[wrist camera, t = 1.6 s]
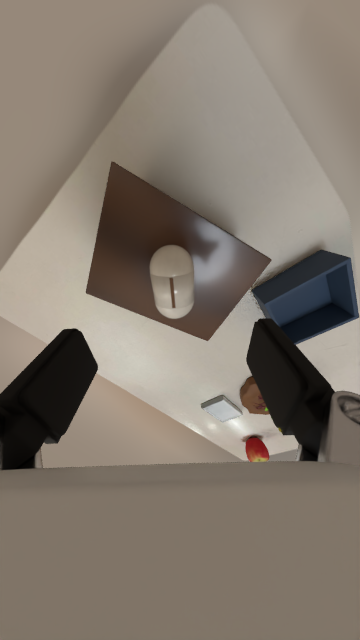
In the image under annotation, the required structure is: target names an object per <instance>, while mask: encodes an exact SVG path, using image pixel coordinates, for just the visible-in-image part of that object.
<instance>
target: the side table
mask: <svg viewBox="0 0 360 640" xmlns="http://www.w3.org/2000/svg"><path fill="white" fill-rule="evenodd" d="M165 245H178V246H180V247H182V248H184V249H185V250H186V251H187V252H188V253H189V254H190V256H191V257H192V259H193V263H194V298H195V299H194V305H193V307H192V309H191V311H190V312H189V313H188V314H187V315H186V316H184V317H182V318H178V319H171V318H167V317H165V316H164V315H162V314H161V313H160V312H159V311H158V309H157V308H156V305H155V301H154V295H153V289H152V283H151V277H150V270H149V266H150V261H151V258H152V256H153V254H154V253H155V252H156V251H157V250H158V249H159V248H161V247H163V246H165ZM270 262H271V259H270V258H268V257H267V256H265V255H264V254H262V253H260V252H259V251H257V250H255V249H254V248H252V247H251V246H249V245H247V244H246V243H244V242H243V241H241V240H239V239H238V238H236V237H234V236H233V235H231V234H230V233H228V232H226V231H225V230H223V229H221V228H220V227H218V226H217V225H215V224H213V223H212V222H210V221H208V220H207V219H205V218H204V217H202V216H200V215H199V214H197V213H196V212H194V211H192V210H191V209H189V208H187V207H186V206H184V205H183V204H181V203H179V202H178V201H176V200H174V199H173V198H171V197H170V196H168V195H166V194H165V193H163V192H161V191H160V190H158V189H157V188H155V187H153V186H152V185H150V184H149V183H147V182H145V181H144V180H142V179H140V178H139V177H137V176H136V175H134V174H132V173H131V172H129V171H127V170H126V169H124V168H123V167H121V166H119V165H118V164H116V163H114V162H111V167H110V172H109V177H108V182H107V187H106V192H105V197H104V202H103V207H102V213H101V218H100V223H99V228H98V233H97V238H96V243H95V248H94V253H93V258H92V263H91V268H90V273H89V279H88V284H87V289H86V293H87V294H89V295H92V296H94V297H97V298H99V299H102V300H105V301H107V302H110V303H112V304H115V305H117V306H120V307H122V308H125V309H127V310H130V311H133V312H135V313H138V314H140V315H143V316H145V317H148V318H150V319H153V320H155V321H158V322H160V323H163V324H166V325H168V326H171V327H173V328H176V329H178V330H181V331H183V332H186V333H188V334H191V335H193V336H196V337H199V338H201V339H204V340H206V341H208V340H209V339H210V338H211V337H212V335H213V334H214V333H215V331H216V330H217V329H218V328H219V326H220V325H221V324H222V323H223V321H224V320H225V319H226V318H227V316H228V315H229V314H230V312H231V311H232V310H233V309H234V307H235V306H236V305H237V304H238V302H239V301H240V300H241V298H242V297H243V296H244V295H245V293H246V292H247V291H248V290H249V288H250V287H251V286H252V285H253V283H254V282H255V281H256V279H257V278H258V277H259V276H260V274H261V273H262V272H263V271H264V269H265V268H266V267H267V265H268V264H269V263H270Z"/></svg>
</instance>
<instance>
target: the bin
mask: <svg viewBox="0 0 360 640" xmlns="http://www.w3.org/2000/svg"><path fill="white" fill-rule="evenodd" d="M252 292H253V294H254V296H255V298H256V300H257V302H258V304H259V306H260V307H261V309H262V311H263V313H264V315H265V317H266V318H272V319H273V320H274V321H275V322H276V324H277V325H278V326H279V327H280V328H281V329H282V330H283V332H284V333H285V334H286V335H287V336H288V337H289V338H290V340H291V341H292V342H293V343H294V344H295V345H296V344H298V343H301V342H303V341H305V340H308V339H310V338H312V337H315V336H317V335H319V334H322V333H324V332H326V331H329V330H331V329H333V328H336V327H338V326H340V325H343V324H345V323H347V322H350V321H352V320H354V319H357V318H359V313H358V306H357V299H356V292H355V285H354V278H353V271H352V264H351V258H349V257H346V256H342V255H339V254H335V253H332V252H328V251H325V250H320V251H318V252H316V253H315V254H313V255H311V256H309V257H308V258H306V259H304V260H303V261H301V262H299V263H297V264H296V265H294V266H292V267H291V268H289V269H287V270H285V271H284V272H282V273H280V274H279V275H277V276H275V277H273V278H272V279H270V280H268V281H267V282H265V283H263V284H261V285H260V286H258V287H256V288H255V289H253V290H252Z"/></svg>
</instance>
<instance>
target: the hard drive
mask: <svg viewBox="0 0 360 640" xmlns="http://www.w3.org/2000/svg"><path fill="white" fill-rule="evenodd" d="M201 408H202V409H203V410H205V411H206V412H208V413H209V414H211V415H212V416H214V417H215V418H216V419H218V420H219V421H221V422H226V421H228V420H231V419H234V418H237V417H239V416H242V415H243V413H242V411H241V410H240V409H238V408H237V407H236V406H235V405H234V404H232V403H231V402H230V401H229V400H227V399H226V398H225V397H224V396H219V397H217V398H214V399H212V400H210V401H207V402H205V403H203V404H201Z"/></svg>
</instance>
